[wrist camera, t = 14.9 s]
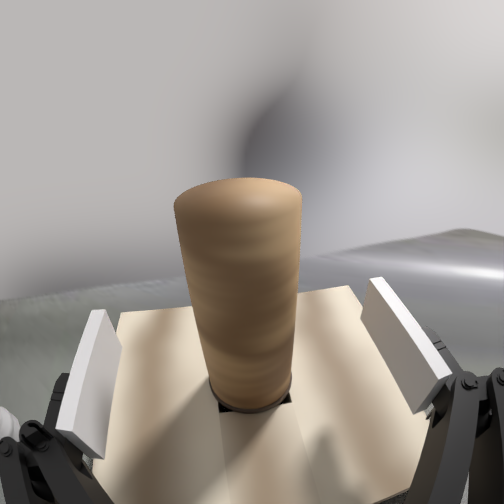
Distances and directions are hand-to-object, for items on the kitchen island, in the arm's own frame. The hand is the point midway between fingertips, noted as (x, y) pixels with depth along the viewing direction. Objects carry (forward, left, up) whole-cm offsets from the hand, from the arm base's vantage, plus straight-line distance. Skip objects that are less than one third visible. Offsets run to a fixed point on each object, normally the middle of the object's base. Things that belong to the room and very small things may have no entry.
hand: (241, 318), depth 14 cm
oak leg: (0, -1, -9) cm, 9 cm away
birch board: (0, 0, -9) cm, 9 cm away
